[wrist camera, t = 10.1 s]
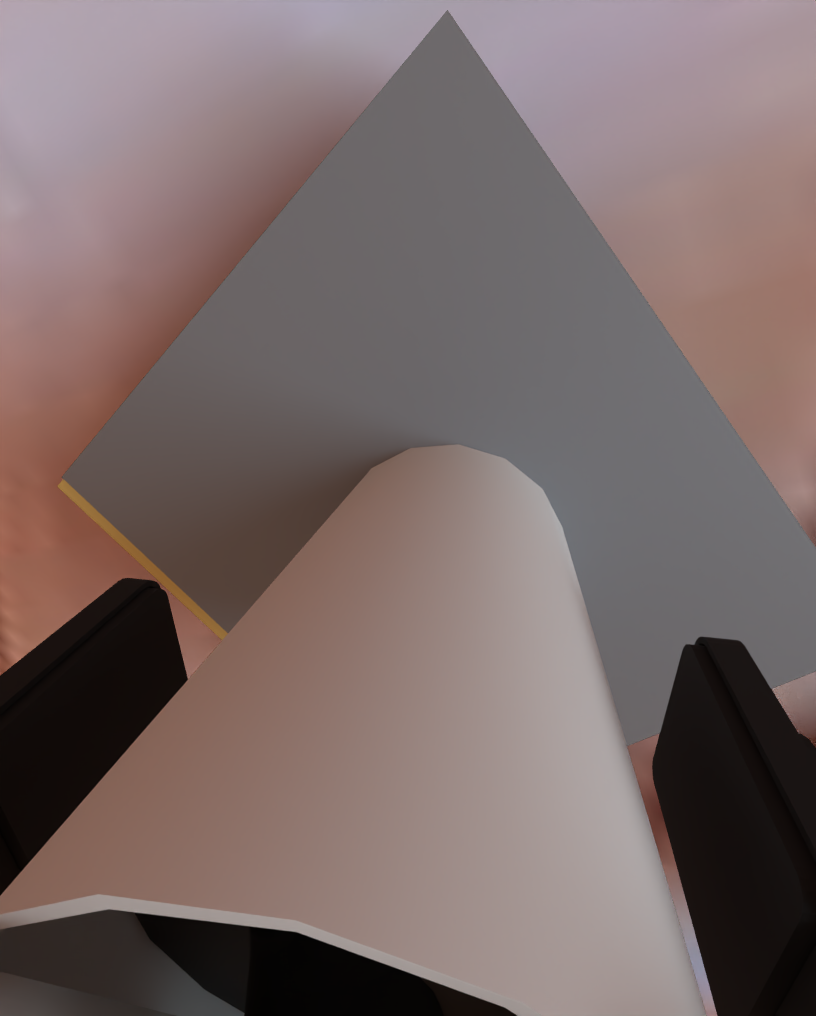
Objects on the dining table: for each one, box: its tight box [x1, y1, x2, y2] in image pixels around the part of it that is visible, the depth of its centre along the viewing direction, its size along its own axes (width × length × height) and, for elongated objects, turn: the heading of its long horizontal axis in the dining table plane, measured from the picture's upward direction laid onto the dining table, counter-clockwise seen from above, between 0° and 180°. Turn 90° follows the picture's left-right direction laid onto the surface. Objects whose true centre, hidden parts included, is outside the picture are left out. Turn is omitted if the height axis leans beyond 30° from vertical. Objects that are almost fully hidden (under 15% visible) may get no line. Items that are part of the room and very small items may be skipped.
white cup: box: [0, 444, 707, 1016], centre depth 9 cm, size 7×7×10 cm
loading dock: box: [57, 10, 816, 746], centre depth 16 cm, size 16×15×5 cm
